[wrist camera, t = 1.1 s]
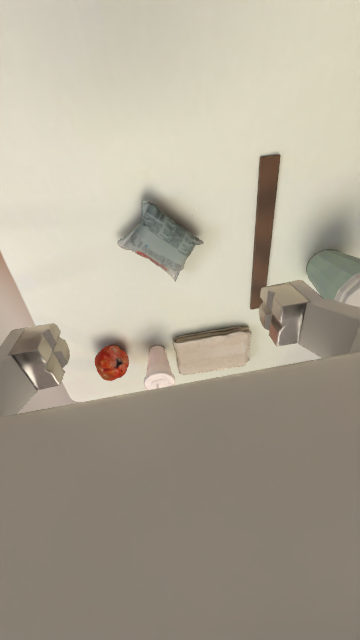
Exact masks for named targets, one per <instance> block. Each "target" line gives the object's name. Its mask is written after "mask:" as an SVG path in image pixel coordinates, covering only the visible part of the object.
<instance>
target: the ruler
mask: <svg viewBox="0 0 360 640" xmlns="http://www.w3.org/2000/svg"><path fill="white" fill-rule="evenodd" d="M279 164H280V155H273V156H266V157H260V166H259V181H258V196H257V211H256V227H255V242H254V257H253V272H252V287H251V302H250V309H256V308H259V306H260V305H261V304H262V302H263V300H262V299H261V298H260V293H261V289H262V288H263V287H266V285H267V275H268V266H269V257H270V247H271V238H272V229H273V220H274V210H275V201H276V192H277V182H278V173H279Z"/></svg>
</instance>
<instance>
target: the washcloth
mask: <svg viewBox="0 0 360 640" xmlns="http://www.w3.org/2000/svg"><path fill="white" fill-rule="evenodd" d="M250 337H251V332H250V331H249V328H248V327H247V328H246V327H245V328H243V327H238V326H237V327H230V328H225V329H221V330H212V331H206V332H202V333H195V334H189V335H184V336H179V337H176V338H175V339H174V340H173V345H174V349H175V351H176V353H177V364H178V368H179V373H180V374H181V375H188V374H195V373H200V372H208V371H214V370H221V369H225V368H232V367H240V366H244V365H246V363H247V362H248V361H249V347H250Z"/></svg>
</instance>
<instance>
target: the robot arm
mask: <svg viewBox="0 0 360 640" xmlns="http://www.w3.org/2000/svg"><path fill="white" fill-rule="evenodd" d="M260 298H261V299H262V300H263V302H262V304H261V305H260V306H259V316H260V321H261V323H262V325H263V327H264V328H265V329H267V330H269V336H270V337H271V339H272V340H273V342H274V343H275V345H276V346H281V345H288V344H294V343H298V344H299V345H301V346H303V347H304V348H306V349H308V350H310V351H311V352H313V353H315V354H317V355H318V356H320V357H322V358H321V359H316V360H310V361H305V362H299V363H294V364H288V365H283V366H277V367H272V368H266V369H261V370H255V371H250V372H244V373H239V374H233V375H228V376H222V377H217V378H211V379H206V380H200V381H195V382H190V383H184V384H179V385H173V386H168V387H162V388H157V389H152V390H146V391H141V392H135V393H130V394H124V395H119V396H113V397H108V398H102V399H97V400H91V401H86V402H80V403H75V404H69V405H65V406H59V407H53V408H48V409H42V410H36V411H31V412H26V413H20V414H17V413H18V412H19V411H20V410H21V408H23V407H24V405H25V404H26V403H27V402H28V401H29V400H30V399H31V398H32V397H33V396H34V395H35V393H36V392H37V390H40V389H44V388H49V387H54V386H59V385H60V384H61V381H62V379H63V376H64V373H65V371H64V370H63V367H64V366H65V365H66V364H67V363H68V361H69V348H68V345H67V343H66V341H65V340H63V339H62V338H60V337H59V335H60V330H59V328H58V326H57V325H55V324H54V323H53V324H46V325H40V326H34V327H28V328H20V329H15V330H13V331H11V332H10V334H9V335H8V336H7V338H6V339H5V341H4V342H3V344H2V345H1V346H0V640H360V308H359V307H356V306H352V305H349V304H345V303H342V302H338V301H335V300H331V299H324V298H322V297H321V296H320V295H319V294H318V293H317V292H315V291H314V290H313V289H312V288H311V287H309V286H308V285H307V284H306V283H305V282H304V281H302V280H296V281H292V282H287V283H282V284H277V285H272V286H267V287H263V288H262V289H261V293H260Z"/></svg>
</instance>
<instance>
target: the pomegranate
mask: <svg viewBox="0 0 360 640" xmlns="http://www.w3.org/2000/svg"><path fill="white" fill-rule="evenodd" d="M128 365H129V360H128V355H127V354H126V352H125V351H123V350H121V349H120V348H119V347H118V346H115V345H108V346H106V347H104V348H103V349H102V350H101V351H100V352H99V353H98V355H96V358H95V366H96V368H97V371H98V373H99V374H100V376H101V377H102V378H103V379H104V380H109V381H112V380H115V379H117V378H120V377H122V376H123V375H124V374H125V373H126V371H127V367H128Z"/></svg>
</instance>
